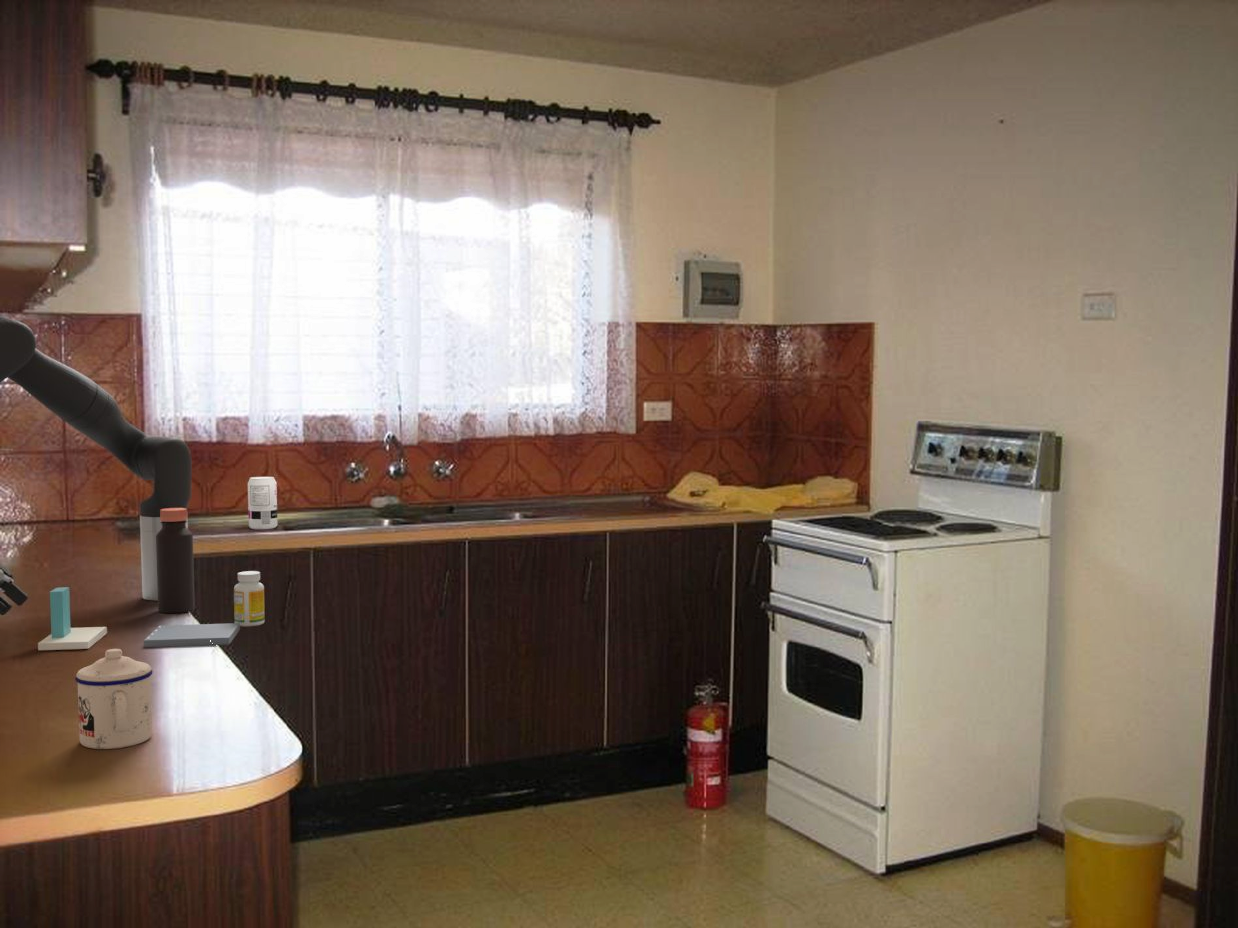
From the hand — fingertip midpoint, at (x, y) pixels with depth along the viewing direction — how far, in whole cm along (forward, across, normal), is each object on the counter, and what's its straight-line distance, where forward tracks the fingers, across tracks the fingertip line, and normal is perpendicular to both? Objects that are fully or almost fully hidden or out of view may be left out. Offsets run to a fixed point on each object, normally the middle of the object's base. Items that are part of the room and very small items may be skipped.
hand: (16, 606), depth 210 cm
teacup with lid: (+27, -61, -17) cm, 69 cm away
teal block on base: (+11, 0, -2) cm, 11 cm away
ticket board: (+25, 0, -16) cm, 30 cm away
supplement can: (+20, +151, -11) cm, 153 cm away
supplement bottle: (+31, +11, -22) cm, 39 cm away
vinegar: (+20, +26, -10) cm, 34 cm away
